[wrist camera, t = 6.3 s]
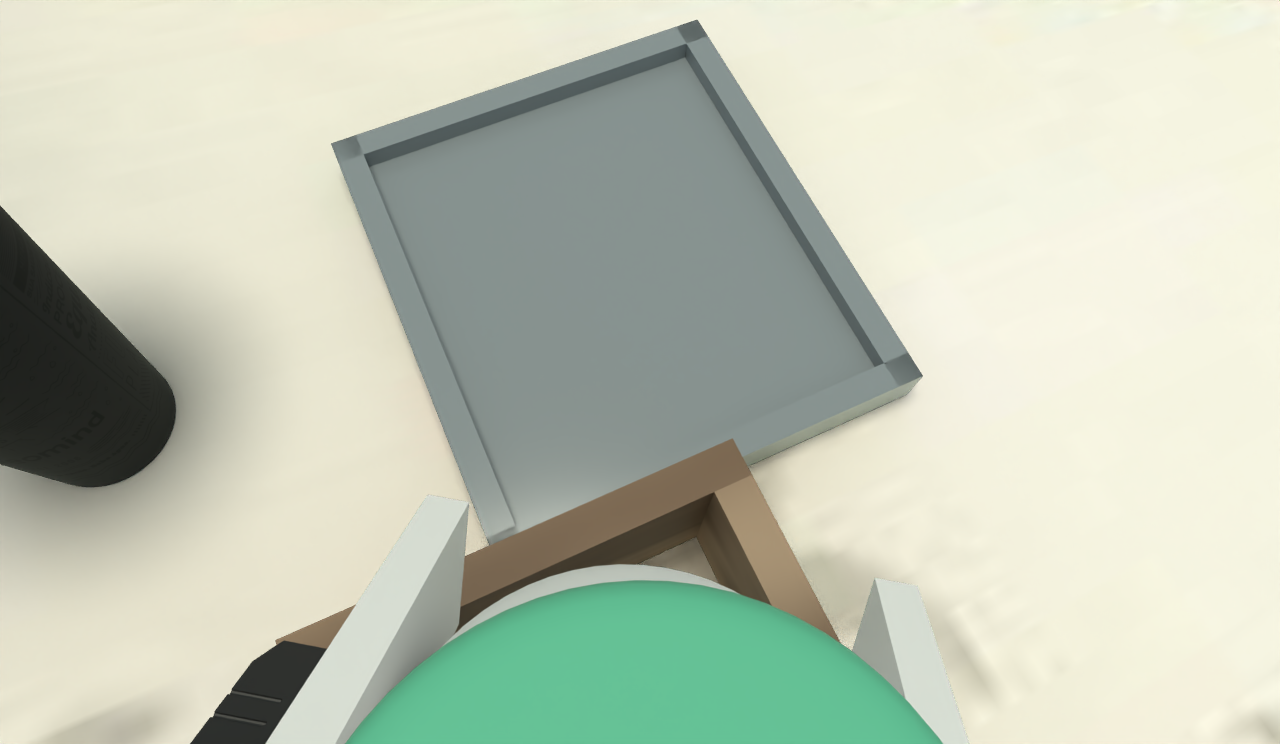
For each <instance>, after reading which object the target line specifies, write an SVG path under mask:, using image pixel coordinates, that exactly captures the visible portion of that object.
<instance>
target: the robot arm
mask: <svg viewBox="0 0 1280 744" xmlns="http://www.w3.org/2000/svg"><path fill="white" fill-rule="evenodd" d="M468 510H469V502H465V501H460V500H454V499H449V498H444V497H438V496H433V495H427V497H426V498H425V500H424V501H423V503H422V504H421V506H420V507H419V509H418V510H417V512H416V514H415V515H414V517H413V518H412V520H411V521H410V523H409V524H408V526H407V527H406V529H405V530H404V532H403V533H402V535H401V537H400V538H399V540H398V541H397V543H396V544H395V546H394V547H393V549H392V550H391V552H390V553H389V555H388V556H387V558H386V560H385V561H384V563H383V564H382V566H381V567H380V569H379V570H378V572H377V573H376V575H375V576H374V578H373V579H372V581H371V583H370V584H369V586H368V587H367V589H366V590H365V592H364V593H363V595H362V596H361V598H360V599H359V601H358V602H357V604H356V606H355V607H354V609H353V610H352V612H351V613H350V615H349V616H348V618H347V619H346V621H345V622H344V624H343V626H342V627H341V629H340V630H339V632H338V633H337V635H336V636H335V638H334V639H333V641H332V642H331V644H330V645H329V647H328V649H326V648H321V647H316V646H311V645H305V644H300V643H295V642H290V641H285V640H284V641H282V642H281V643H279V644H278V645H276V646H275V647H273V648H272V649H270V650H269V651H267V652H266V653H264V654H263V655H261V656H260V657H258V658H257V659H255V660H254V661H252V663H251V664H250V665H249V667H248V668H247V669H246V671H245V672H244V673H243V675H242V676H241V677H240V679H239V680H238V681H237V683H236V684H235V685H234V687H233V688H232V691H231V693H230V695H229V694H227V696H226V697H225V698H224V700H223V701H222V702H221V704H220V705H219V706H218V708H217V709H216V710H215V713H214V716H213V717H210V718H209V720H208V721H207V722H206V724H205V725H204V726H203V728H202V729H201V730H200V731H199V733H198V734H197V735H196V737H195V738H194V739H193V741H192V742H191V743H190V744H345V743H346V742H347V740H348V739H349V738H350V736H351V735H352V734H353V732H354V731H355V730H356V728H357V727H358V726H359V725H360V723H361V722H362V721H363V720H364V719H365V717H366V716H367V715H368V714H369V713H370V712H371V711H372V710H373V709H374V708H375V706H376V705H377V704H378V703H379V702H380V701H381V700H382V699H383V698H384V696H385V695H386V694H387V693H388V692H389V691H390V690H391V689H393V688H394V687H395V686H396V685H397V684H398V683H399V682H400V681H401V680H402V679H403V678H404V677H405V676H407V675H408V674H409V673H410V672H411V671H412V670H413V669H414V668H415V667H417V666H418V665H419V664H420V663H422V662H423V661H424V660H426V659H427V658H428V657H429V656H431V655H432V654H433V653H435V652H436V651H437V650H439V649H440V648H441V647H442V646H443V645H444V644H445V643H446V642H447V641H448V640H449V639H450V638H451V637H452V636H453V635H454V633H455V631H456V629H457V627H458V625H459V617H460V605H461V593H462V581H463V569H464V557H465V545H466V534H467V522H468ZM852 652H854V653H855V654H856V655H858V656H859V657H860V658H861V659H862V660H864V661H865V662H866V663H867V664H868V665H870V666H871V667H872V668H873V669H874V670H876V671H877V672H878V673H879V674H880V675H882V676H883V677H884V678H885V679H886V680H887V681H888V682H889V683H890V684H891V685H892V686H893V687H894V688H895V689H896V690H897V691H898V692H899V693H900V694H901V695H902V696H903V697H904V698H905V699H906V700H907V701H908V702H909V703H910V704H911V706H912V707H913V708H914V709H915V710H916V711H917V713H918V714H919V715H920V716H921V717H922V718H923V720H924V721H925V722H926V723H927V724H928V726H929V727H930V728H931V729H932V730H933V732H934V733H935V734H936V735H937V736H938V737H939V739H940V740H941V741H942V743H943V744H970V743H969V740H968V737H967V734H966V731H965V728H964V725H963V722H962V719H961V716H960V713H959V710H958V707H957V704H956V701H955V698H954V695H953V692H952V688H951V685H950V682H949V679H948V676H947V673H946V670H945V667H944V664H943V661H942V658H941V655H940V652H939V649H938V646H937V643H936V640H935V637H934V634H933V631H932V628H931V624H930V621H929V618H928V615H927V612H926V609H925V606H924V603H923V600H922V597H921V594H920V591H919V588H918V586H916V585H911V584H906V583H900V582H895V581H890V580H884V579H879V578H875V579H874V582H873V585H872V589H871V592H870V595H869V598H868V602H867V605H866V608H865V611H864V614H863V618H862V621H861V624H860V627H859V630H858V634H857V637H856V640H855V643H854V646H853V650H852Z"/></svg>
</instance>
